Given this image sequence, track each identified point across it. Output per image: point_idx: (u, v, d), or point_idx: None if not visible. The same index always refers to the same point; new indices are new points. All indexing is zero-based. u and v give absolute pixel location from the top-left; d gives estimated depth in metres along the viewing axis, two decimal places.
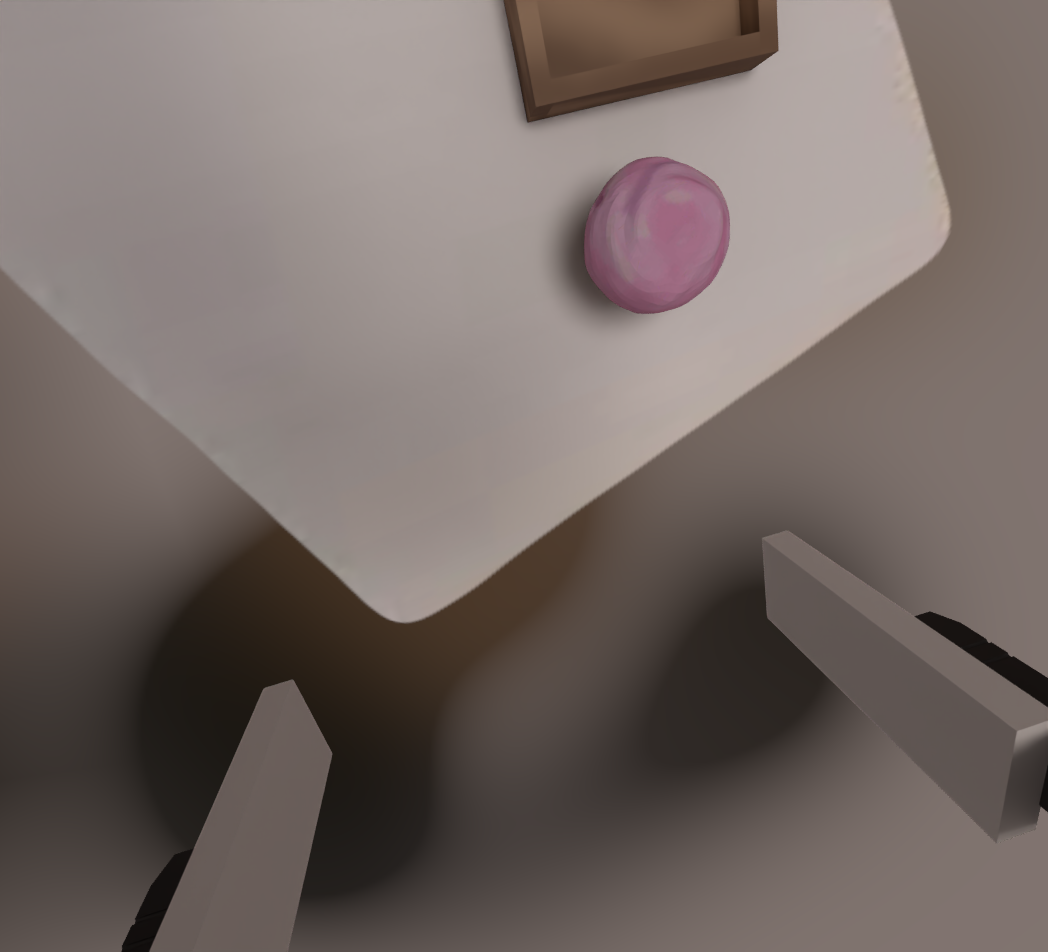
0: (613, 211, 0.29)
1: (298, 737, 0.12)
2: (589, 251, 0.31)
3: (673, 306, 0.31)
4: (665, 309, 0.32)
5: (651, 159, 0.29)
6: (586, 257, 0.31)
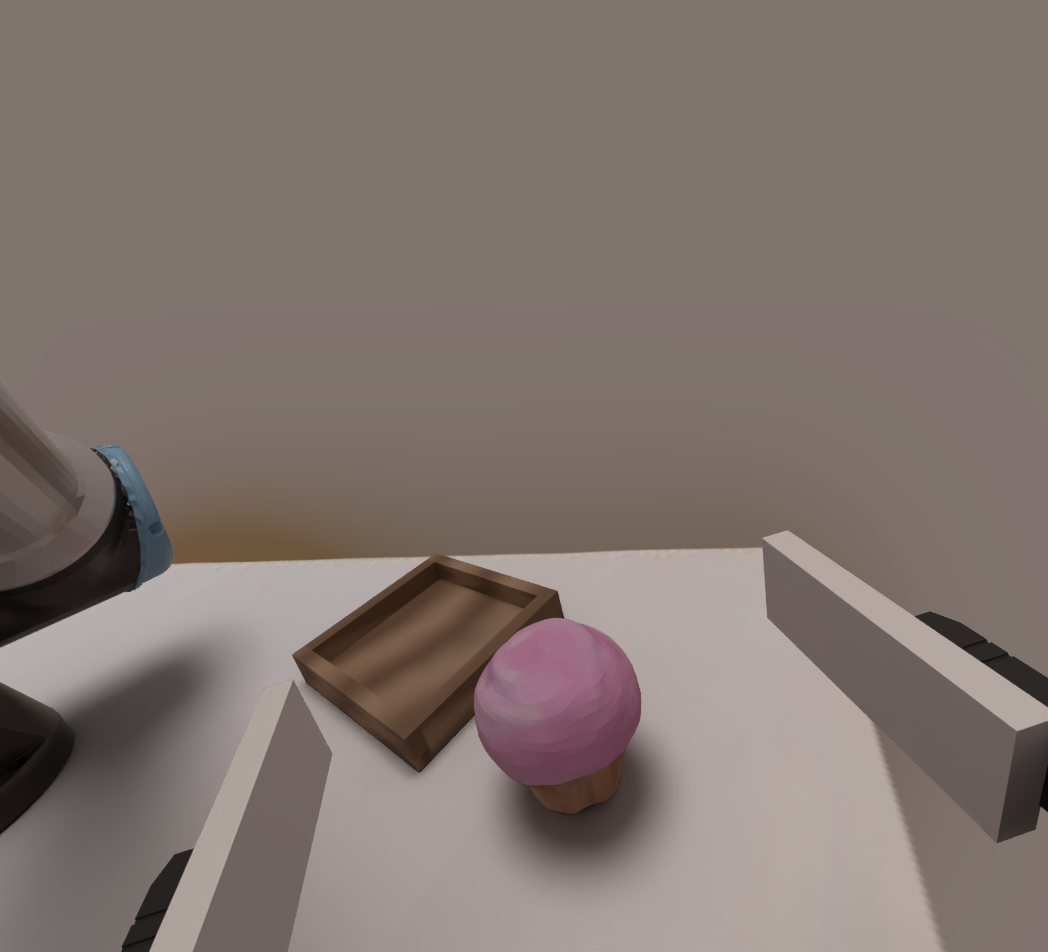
0: (481, 696, 0.26)
1: (298, 737, 0.12)
2: (496, 753, 0.25)
3: (614, 706, 0.24)
4: (610, 716, 0.24)
5: None
6: (503, 766, 0.24)
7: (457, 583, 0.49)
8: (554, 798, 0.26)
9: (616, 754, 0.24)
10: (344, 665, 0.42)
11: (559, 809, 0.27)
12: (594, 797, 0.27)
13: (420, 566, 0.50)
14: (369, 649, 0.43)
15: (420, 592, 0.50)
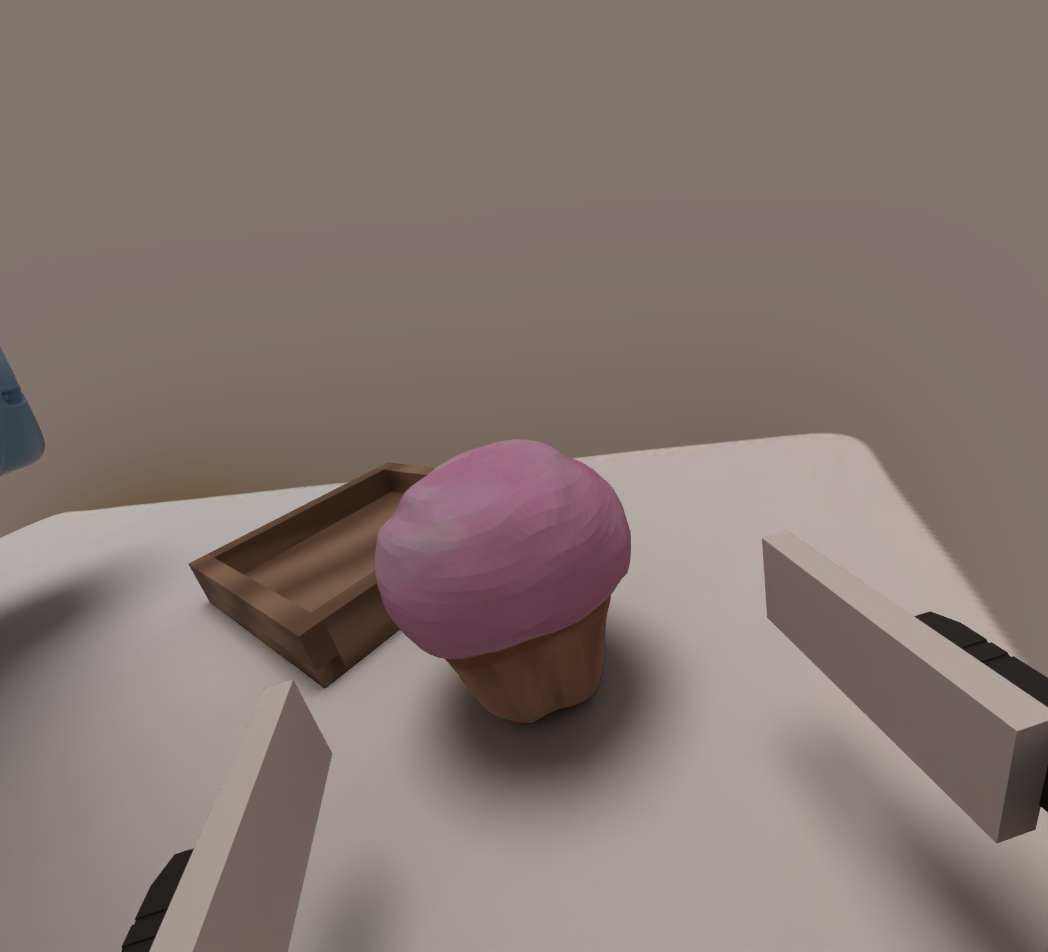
0: (382, 532, 0.17)
1: (298, 737, 0.12)
2: (398, 609, 0.15)
3: (585, 525, 0.15)
4: (579, 538, 0.14)
5: None
6: (409, 630, 0.15)
7: None
8: (498, 691, 0.17)
9: (590, 604, 0.15)
10: (256, 578, 0.33)
11: (508, 714, 0.18)
12: (561, 694, 0.17)
13: (366, 474, 0.41)
14: (291, 560, 0.34)
15: (365, 504, 0.40)
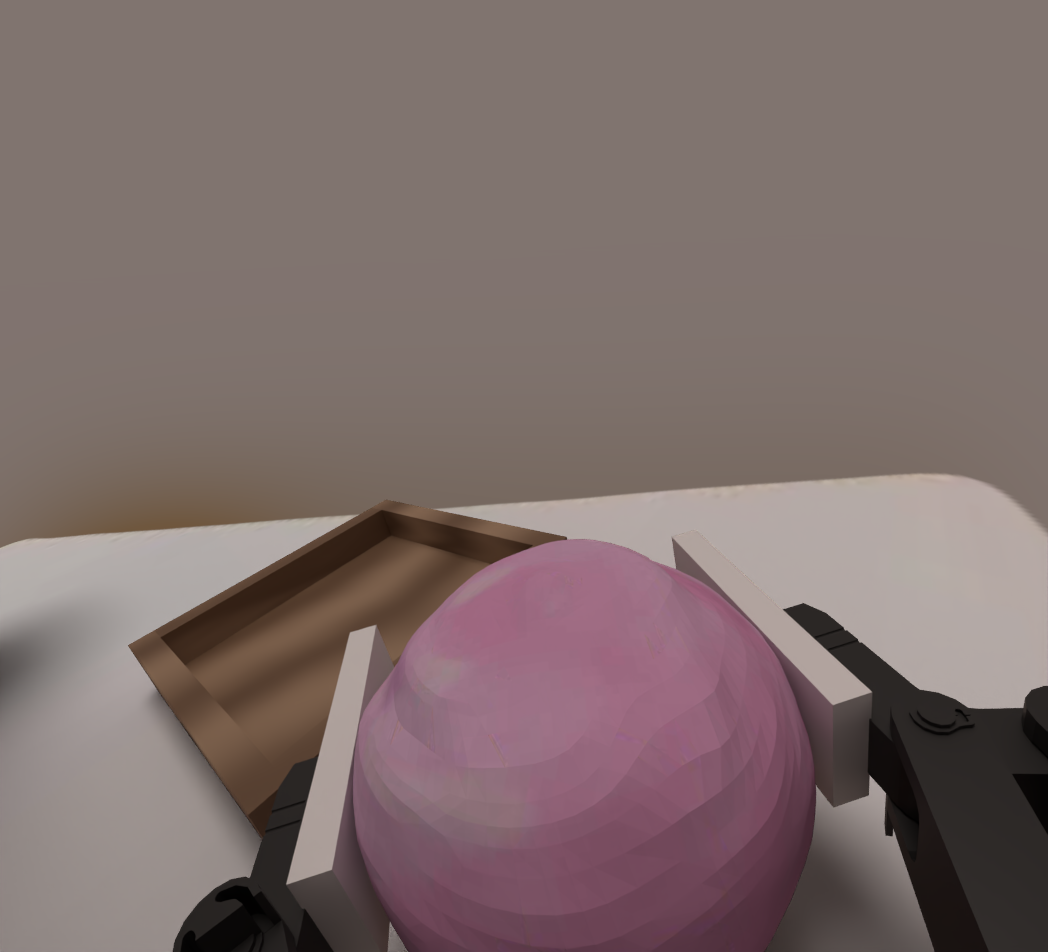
0: (365, 734, 0.09)
1: (384, 674, 0.14)
2: (394, 917, 0.08)
3: (768, 772, 0.07)
4: (763, 808, 0.07)
5: None
6: None
7: (414, 540, 0.33)
8: None
9: (775, 928, 0.07)
10: (216, 663, 0.26)
11: None
12: None
13: (360, 516, 0.34)
14: (262, 637, 0.27)
15: (358, 553, 0.33)
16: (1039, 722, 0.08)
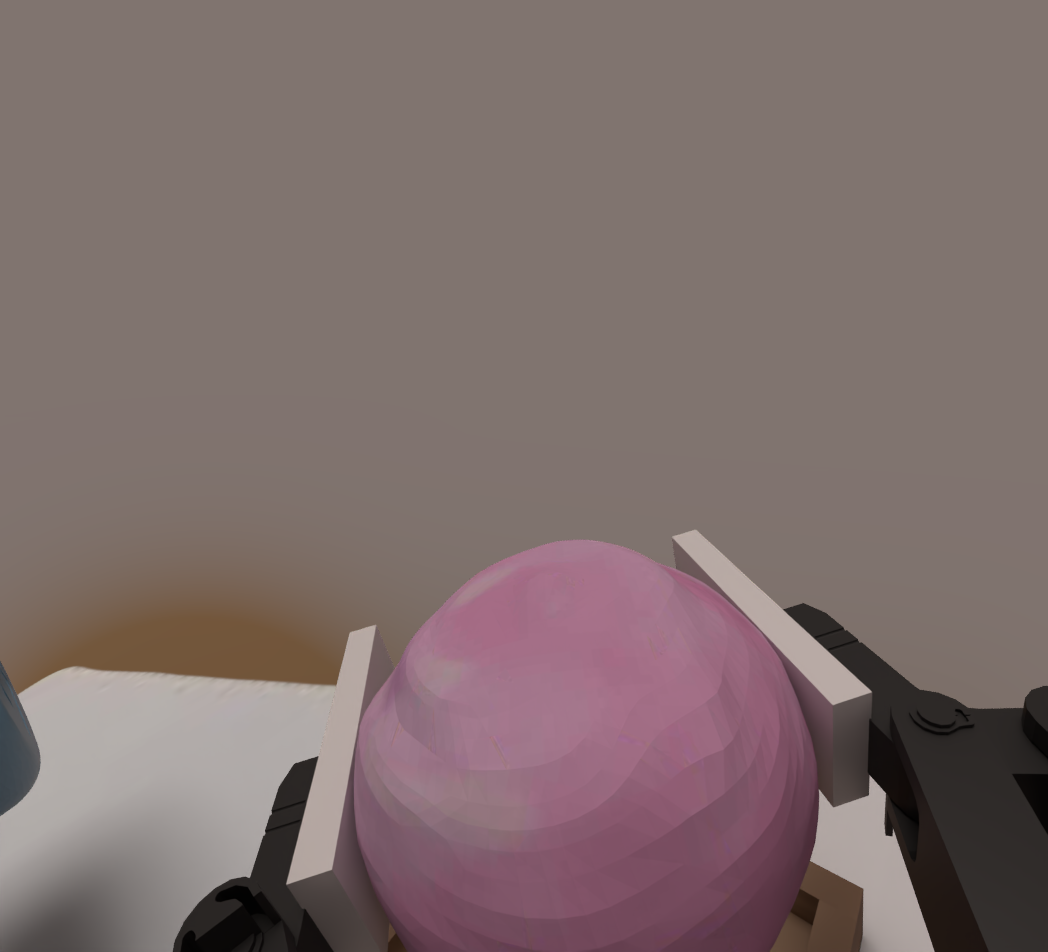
0: (366, 736, 0.09)
1: (384, 674, 0.14)
2: (395, 920, 0.08)
3: (771, 774, 0.07)
4: (767, 811, 0.07)
5: None
6: None
7: None
8: None
9: (778, 931, 0.07)
10: None
11: None
12: None
13: None
14: None
15: None
16: (1039, 722, 0.08)
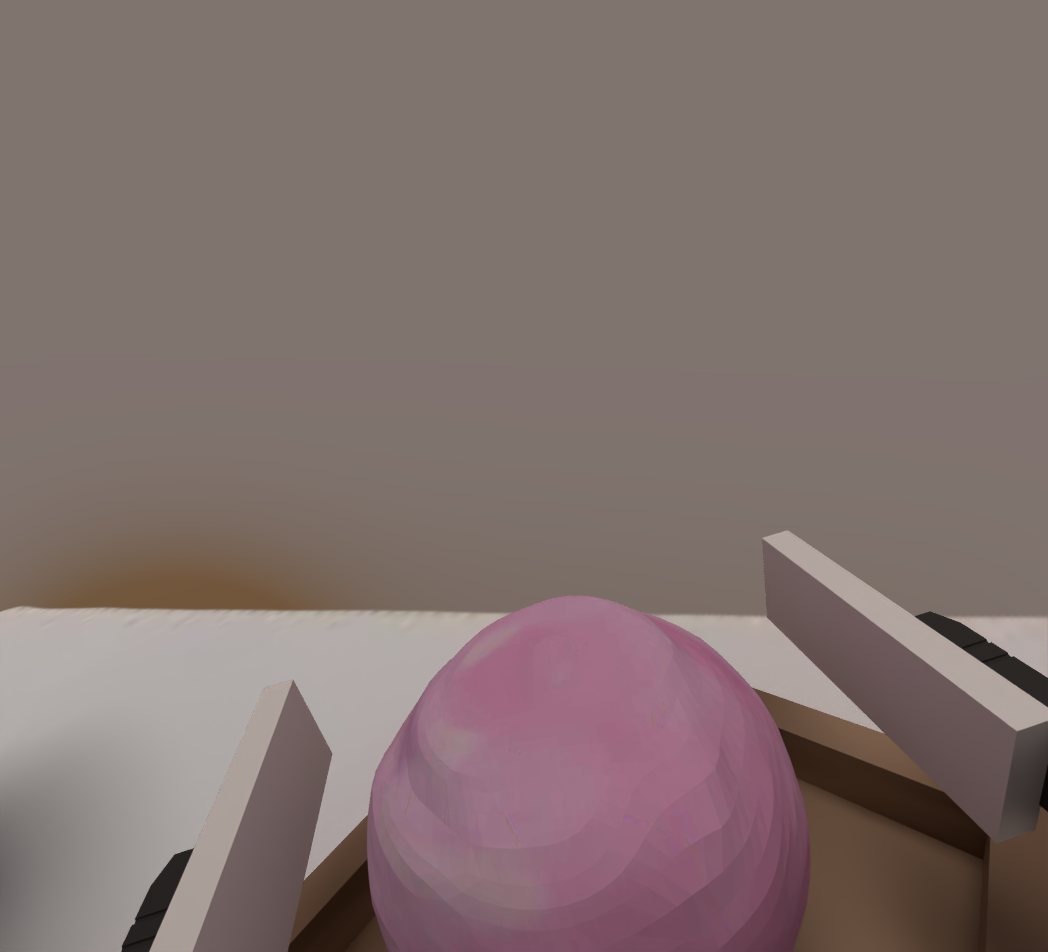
0: (379, 800, 0.10)
1: (298, 737, 0.12)
2: None
3: (766, 847, 0.08)
4: (762, 885, 0.08)
5: None
6: None
7: None
8: None
9: None
10: None
11: None
12: None
13: None
14: None
15: None
16: None
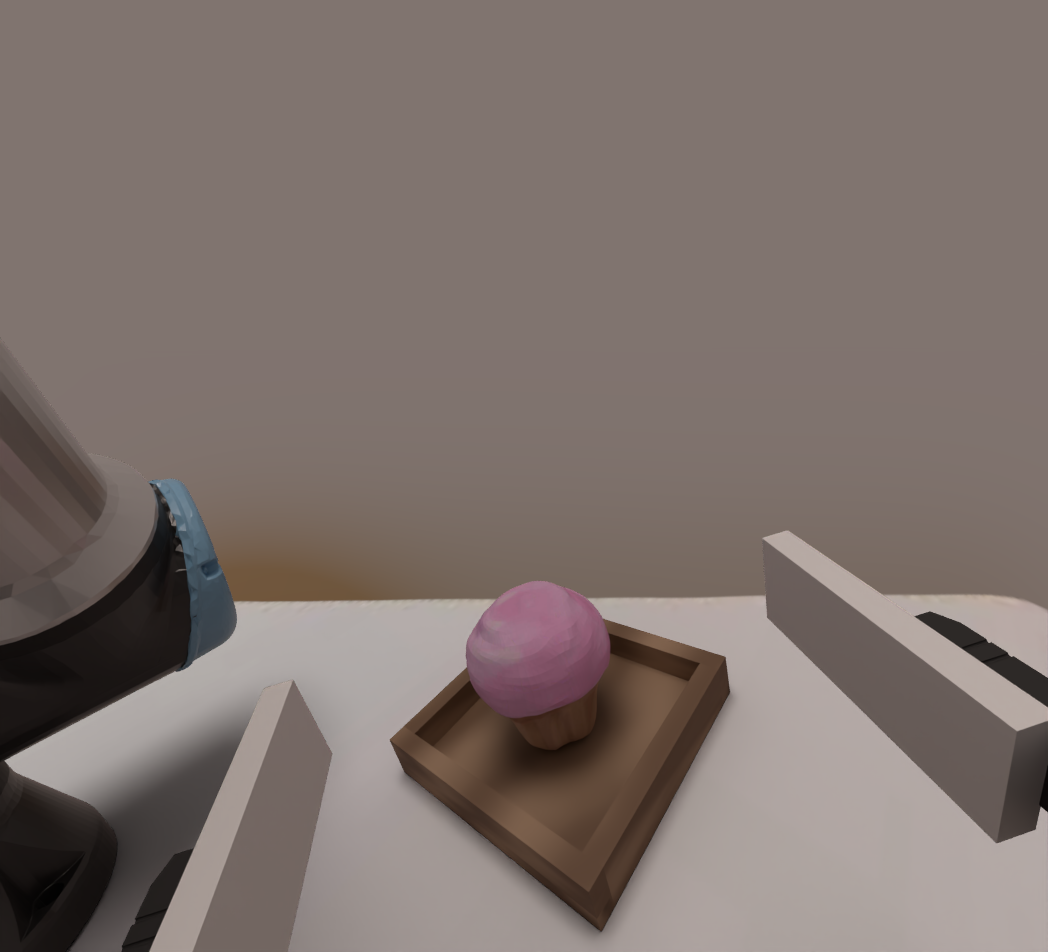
0: (471, 645, 0.30)
1: (298, 737, 0.12)
2: (484, 691, 0.29)
3: (584, 647, 0.28)
4: (581, 655, 0.28)
5: None
6: (490, 702, 0.29)
7: None
8: (536, 733, 0.30)
9: (587, 689, 0.28)
10: (454, 752, 0.34)
11: (541, 745, 0.31)
12: (572, 733, 0.31)
13: None
14: (482, 729, 0.35)
15: None
16: None
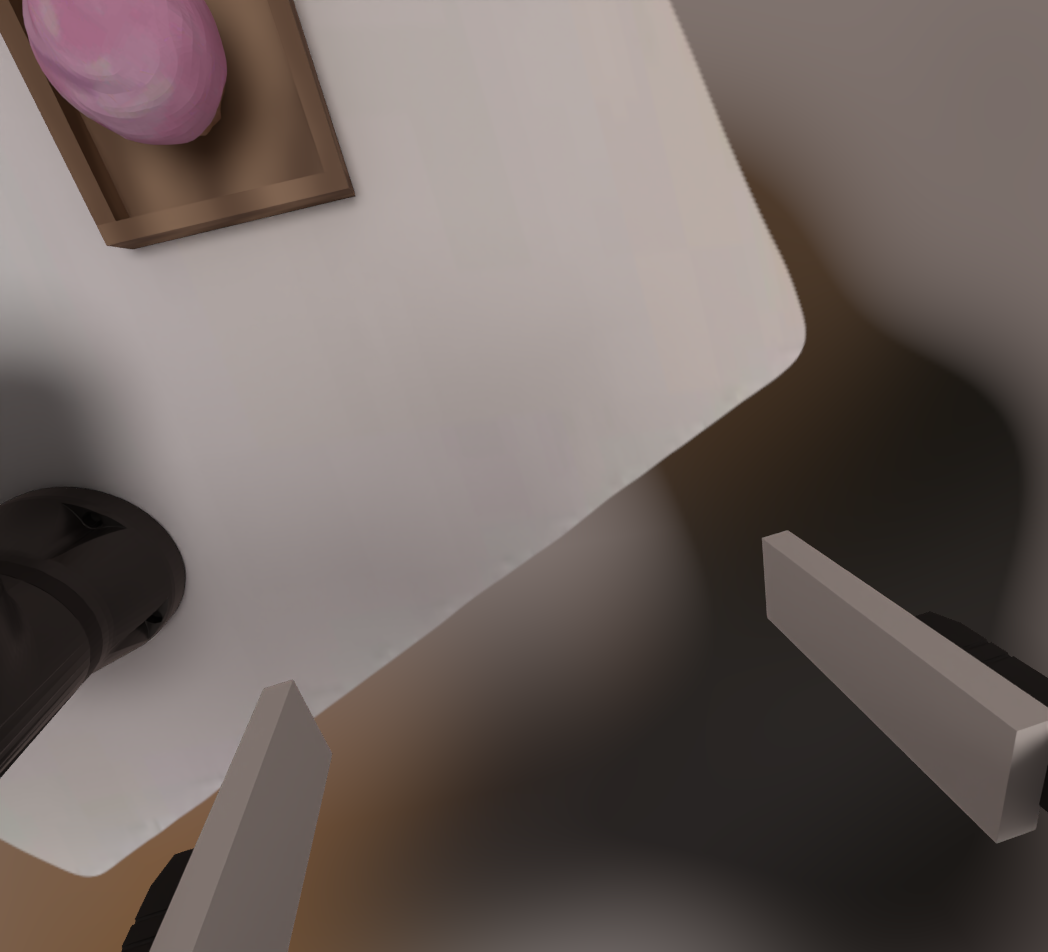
0: (100, 109, 0.26)
1: (298, 737, 0.12)
2: (163, 138, 0.28)
3: (193, 12, 0.25)
4: (201, 25, 0.26)
5: (35, 56, 0.25)
6: (175, 142, 0.28)
7: None
8: None
9: (223, 51, 0.28)
10: (150, 198, 0.34)
11: (212, 126, 0.32)
12: (221, 93, 0.31)
13: None
14: (139, 158, 0.33)
15: None
16: None
